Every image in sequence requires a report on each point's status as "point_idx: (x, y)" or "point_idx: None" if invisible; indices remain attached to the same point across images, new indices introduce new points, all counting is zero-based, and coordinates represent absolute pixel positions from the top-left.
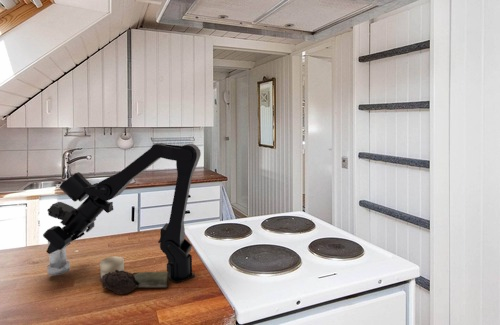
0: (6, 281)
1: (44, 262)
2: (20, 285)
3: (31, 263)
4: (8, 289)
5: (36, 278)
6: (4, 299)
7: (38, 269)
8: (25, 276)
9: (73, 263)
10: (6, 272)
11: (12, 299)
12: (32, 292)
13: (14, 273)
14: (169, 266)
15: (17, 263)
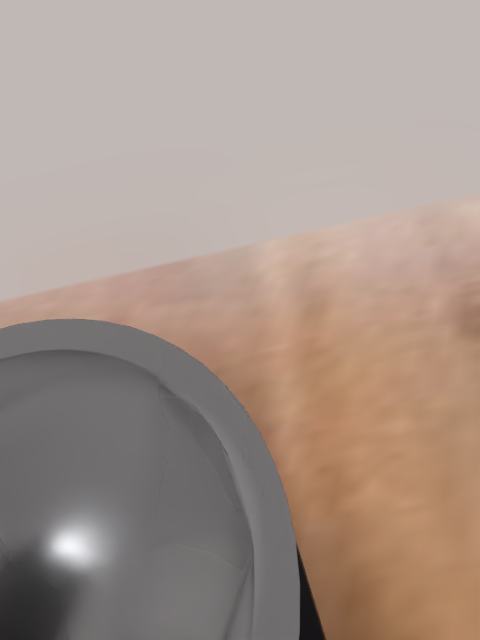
0: (241, 253)
1: (470, 366)
2: (163, 320)
3: (461, 302)
4: (139, 282)
5: (226, 375)
6: (31, 294)
7: (361, 357)
8: (275, 315)
9: (429, 578)
10: (355, 227)
11: (8, 325)
12: None
13: (332, 260)
14: None
15: (468, 241)
